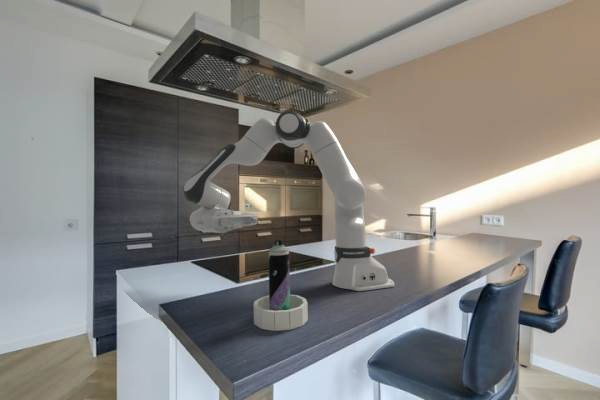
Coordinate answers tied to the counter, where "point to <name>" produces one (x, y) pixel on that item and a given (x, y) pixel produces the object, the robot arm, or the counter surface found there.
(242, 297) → the counter surface
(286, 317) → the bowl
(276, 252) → the spray can
